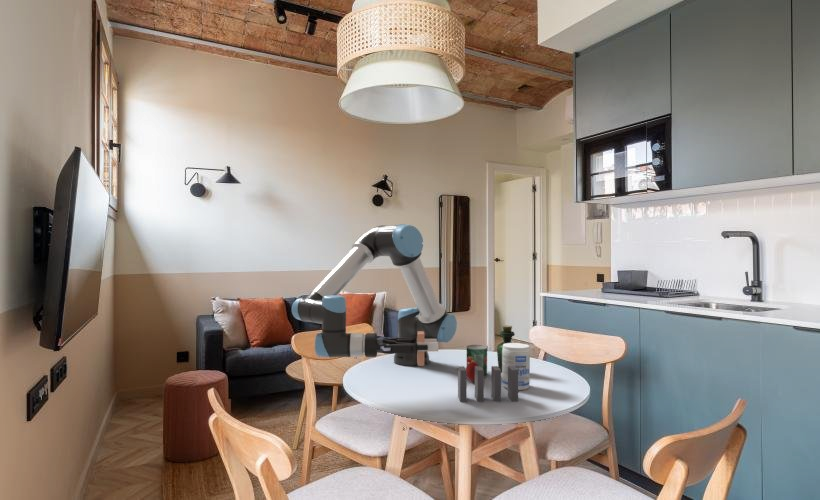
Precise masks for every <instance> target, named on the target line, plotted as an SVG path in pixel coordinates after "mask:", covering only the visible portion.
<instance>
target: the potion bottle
mask: <svg viewBox="0 0 820 500" xmlns="http://www.w3.org/2000/svg"><path fill="white" fill-rule="evenodd" d="M512 329H513V326H512V325H502V330H501V331H500V333H499V336H501V337H502V342H500V343H498V344H497V346H496V352H497V353H496V354H497V355H496V356H497V366H498V367H499V368H500V370H501V374H502V350H503V349H502V348H503V344H505V343H513V342H512V338H513V337H515V332H514V331H512Z"/></svg>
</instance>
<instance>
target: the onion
mask: <svg viewBox="0 0 820 500" xmlns="http://www.w3.org/2000/svg"><path fill="white" fill-rule="evenodd" d="M475 366H478V364H476V363H475V362H474V361H473V360H471V363H470V364H469V365H468V366H467V365H466V366H465V369H466V370H467V380H469V381H470V382H471V383H475Z"/></svg>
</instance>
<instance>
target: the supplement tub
mask: <svg viewBox="0 0 820 500" xmlns="http://www.w3.org/2000/svg"><path fill="white" fill-rule="evenodd" d="M502 349H503V350H502V373H501V386H502V387H503V388H505V389H507V390H508V366H514V367H515V368H516V369H518V391H524V390H527V389H529V387H530V380H531V379H530V376H531V375H530V374H531V373H530V372H531V371H530V370H531V369H530V368H531V367H530V366H531V364H530V363H531V359H530V357H531V356H530V355H531V351H530V345H529V344H526V343H520V342H512V343H505V344H503V348H502Z"/></svg>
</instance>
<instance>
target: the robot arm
mask: <svg viewBox="0 0 820 500" xmlns="http://www.w3.org/2000/svg"><path fill="white" fill-rule="evenodd" d="M423 243H424V238H423V235H422V233H421V232H420V230H419V229H418V228H417V227H416V226H414V225H413V224H412V225H411V224H405V223H402V224H391V225H386V224H385V225H378V226H374V227H373V228H371V229H369V230H368V231H365V232H364V233H363V235H362V234H361V236H360V237H359V238H358V239H357V240H356V241H355V242H354V243H352V245H351V250H349V252H348V253H347V254H346V255H345V256H344V257H343V258H342V260H340V261H339V263H338V264H336V266H334V268H332V270H331V271H329V273H328V274H327V275H326V276H325V277H324V278H323V279H322V280H321V282H320V283H318V284H317V285H316V287H315V288H313V290H311V292H309V294H307V295H306V296H305V297H301V298H297V299H296V300H294V301H293V303H292V305H291V314H292V316H293V318H294V319H296V320H299V321H302V322H307V323H310V322H311V323H314V324H321V332H320V333H319V332H318V333H316V336H315V338H314V352H315V355H316V356H317V357H319V358H320V357H321V358H354V359H355V360H356V359H357V358H364V357H366V358H376V357H377V356H378V351H379V352H382V353H383V354H385V355H386V354H394V355H393V363H395V364H396V365H400V366H405V367H406V366H408V367H412V366H413V367H414V366H417V367H418V363H417V350H418V351H424V365H427V364H429V363H430V356H429V352H439V343H445V344H446V343H449V342H450V341H452V340H453V338H454V337H455V335H456V331H457V327H458V323H457V322H458V321H457V317H456V316H455V315H454V314H452V313H448V312H447V309H446V306H444V305H443V303H440V302H439V299H438V297H437V295H436V292H435V291H434V289H433V286H432V283H431V282H430V279H429V276H428V275H427V272H426V269H425V267H424V265H423V263H422V260H421V256H422V251H423V247H424V244H423ZM379 257H389V259H390V260H391V262H392V263H391V264H393V266H395V267H397V268H399V271H400V272H401V275H402V277H403V280H404V281H405V283H406V285H407V288H408V291H409V292H410V294H411V296H412V299H413V300H414V304H415V305H416V306H414V307H408V308H401V309H400V310H398V316H397V337H390V336H389V337H388V336H386V337H383V338H382V339H378V334H377V333H375V332H366V333H365V334H364V332H347V301H346V297H345V296H344V295H340V293H341V292H342V291H343V290H344V289H346V287H347V285H349V283H350V282H351V281H352V280H353V279H354V278H355V277H356V276H357V275H358V274H359V272H360V271H361V270H362V269H363V268H364V267H365V266H366V264H370V263H372V262H374V260H375V259H376V258H379ZM417 331H424V342H418V345H417Z"/></svg>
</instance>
